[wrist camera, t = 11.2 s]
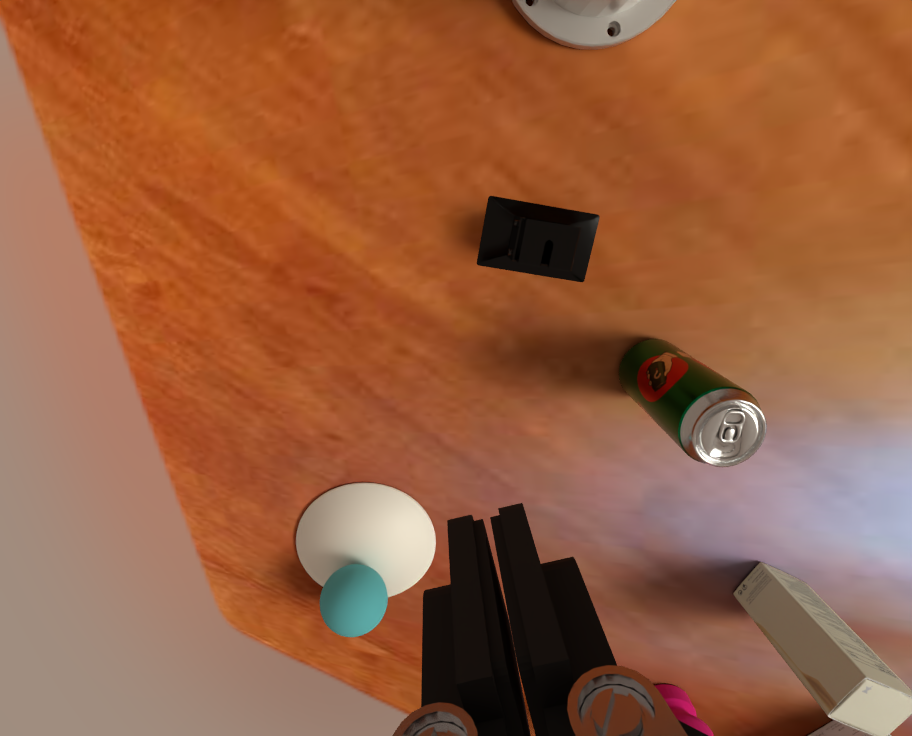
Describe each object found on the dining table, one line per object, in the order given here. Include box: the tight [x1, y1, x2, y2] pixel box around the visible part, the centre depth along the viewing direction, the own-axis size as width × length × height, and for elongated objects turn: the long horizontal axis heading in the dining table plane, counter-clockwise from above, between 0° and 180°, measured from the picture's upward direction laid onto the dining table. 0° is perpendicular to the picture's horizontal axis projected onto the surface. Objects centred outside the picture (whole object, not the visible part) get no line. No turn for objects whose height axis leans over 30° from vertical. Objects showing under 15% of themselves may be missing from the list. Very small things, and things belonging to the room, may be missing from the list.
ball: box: [320, 564, 388, 637], centre depth 44 cm, size 6×6×6 cm
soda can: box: [619, 339, 766, 467], centre depth 36 cm, size 5×5×12 cm
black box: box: [477, 196, 599, 282], centre depth 36 cm, size 12×7×5 cm, turn 80°
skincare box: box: [733, 562, 912, 736], centre depth 43 cm, size 6×4×12 cm
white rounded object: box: [296, 482, 436, 597], centre depth 45 cm, size 12×12×1 cm
